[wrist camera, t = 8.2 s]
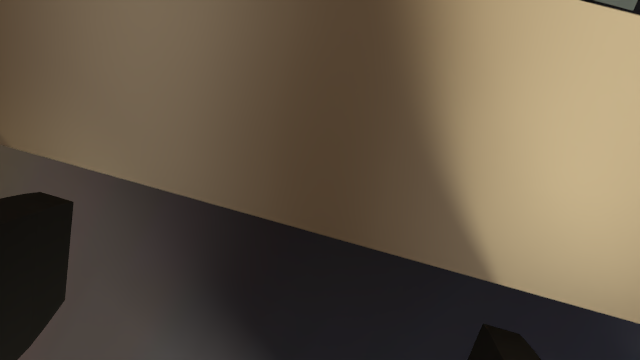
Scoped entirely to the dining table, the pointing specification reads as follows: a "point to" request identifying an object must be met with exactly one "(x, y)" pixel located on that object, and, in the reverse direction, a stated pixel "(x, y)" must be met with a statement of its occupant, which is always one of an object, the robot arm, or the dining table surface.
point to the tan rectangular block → (360, 123)
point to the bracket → (620, 3)
